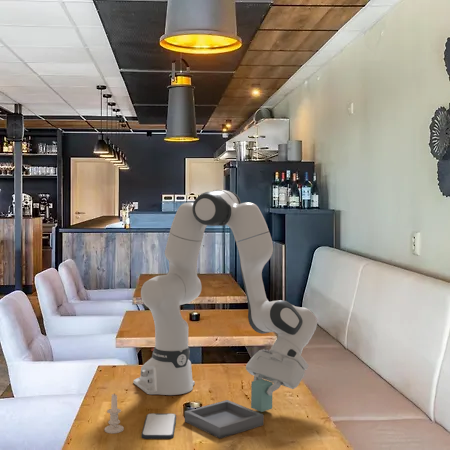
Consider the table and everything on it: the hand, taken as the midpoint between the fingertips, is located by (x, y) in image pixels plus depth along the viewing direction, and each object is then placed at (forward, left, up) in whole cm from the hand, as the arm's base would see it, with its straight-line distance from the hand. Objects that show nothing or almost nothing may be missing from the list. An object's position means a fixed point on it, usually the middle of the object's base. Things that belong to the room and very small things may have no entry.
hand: (260, 391), depth 181 cm
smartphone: (-9, -31, -7) cm, 33 cm away
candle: (-15, -41, -7) cm, 44 cm away
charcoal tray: (0, -14, -6) cm, 16 cm away
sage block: (0, +1, -5) cm, 5 cm away
